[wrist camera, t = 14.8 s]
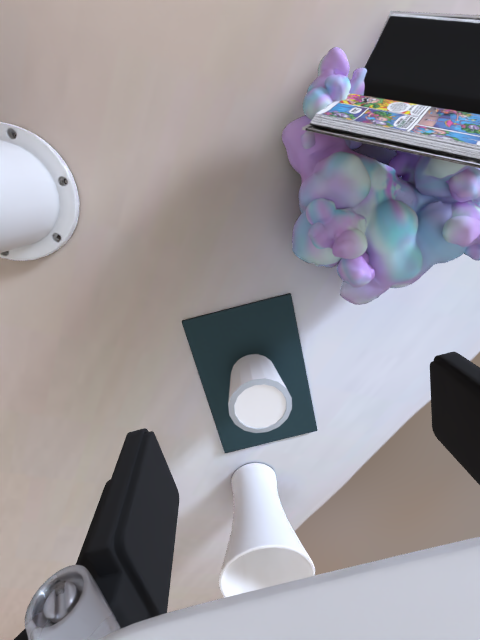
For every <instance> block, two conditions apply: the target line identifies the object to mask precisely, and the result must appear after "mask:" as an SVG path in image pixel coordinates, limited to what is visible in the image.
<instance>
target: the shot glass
mask: <svg viewBox="0 0 480 640" xmlns="http://www.w3.org/2000/svg"><path fill="white" fill-rule="evenodd" d="M228 407H229V415H230V417H231V419H232V420H233V422H234V424H235V425H237V426H238V427H240V428H241V429H243V430H244V431H249V432H253V433H262V432H269V431H271V430H273V429H275V428H278V427H279V426H280V425H281V424H283V423H284V422H285V421H286V420H287V419H288V416H289V414H290V412H291V410H292V398H291V396H290V394H289V392H288V390H287V388H286V386H285V384H284V383H283V381H282V379H281V377H280V376H279V374H278V372H277V370H276V368H275V367H274V365H273V363H272V361H270V360H269V359H268V358H267V357H265V356H262V355H259V354H251V355H246V356H244V357H242V358H240V359H239V360H238V361H237V362H236V363H235V364H234V366H233V368H232V371H231V378H230V390H229V402H228Z"/></svg>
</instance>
